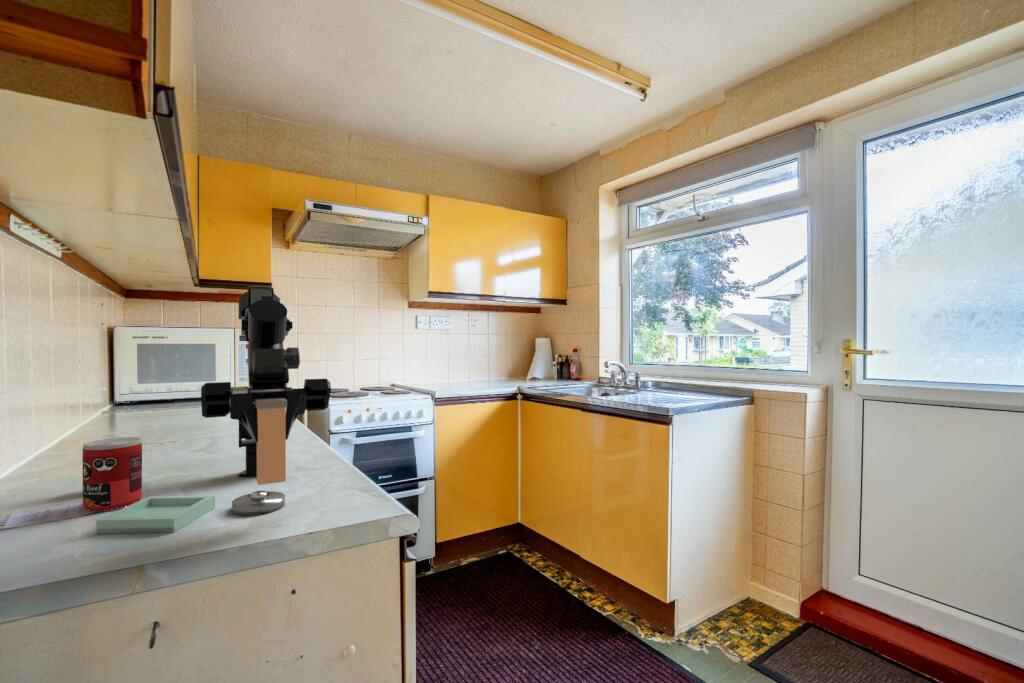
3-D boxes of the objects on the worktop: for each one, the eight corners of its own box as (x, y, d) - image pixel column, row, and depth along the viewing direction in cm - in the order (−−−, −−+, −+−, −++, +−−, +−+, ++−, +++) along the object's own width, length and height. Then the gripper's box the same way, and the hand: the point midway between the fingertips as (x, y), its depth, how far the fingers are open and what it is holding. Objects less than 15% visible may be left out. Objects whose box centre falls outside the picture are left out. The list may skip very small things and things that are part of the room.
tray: (148, 508, 83) (148, 496, 83) (215, 507, 84) (215, 495, 84) (96, 533, 72) (96, 520, 72) (174, 532, 73) (174, 518, 73)
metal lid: (246, 500, 87) (246, 486, 87) (292, 499, 88) (292, 485, 88) (222, 516, 79) (222, 500, 79) (272, 515, 80) (272, 499, 80)
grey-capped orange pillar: (255, 478, 77) (255, 399, 77) (284, 475, 80) (284, 398, 80) (256, 485, 74) (256, 402, 74) (287, 481, 76) (287, 400, 76)
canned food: (73, 508, 83) (73, 443, 83) (128, 495, 90) (128, 435, 90) (95, 515, 80) (95, 447, 80) (150, 501, 87) (150, 439, 87)
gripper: (201, 330, 75) (197, 411, 66) (329, 331, 85) (342, 402, 75) (203, 378, 82) (200, 457, 73) (321, 374, 92) (332, 444, 82)
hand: (271, 439), depth 75 cm, fingers closed on grey-capped orange pillar, 4 cm apart
